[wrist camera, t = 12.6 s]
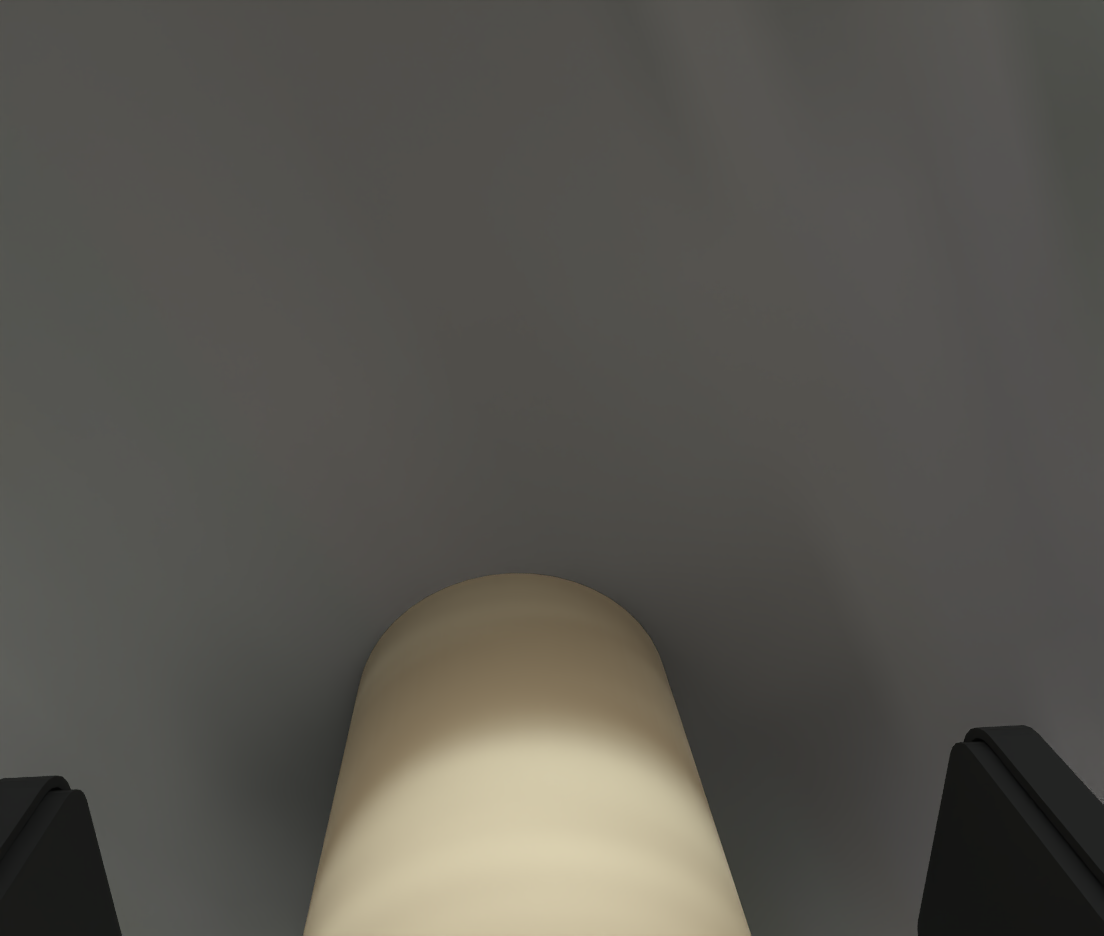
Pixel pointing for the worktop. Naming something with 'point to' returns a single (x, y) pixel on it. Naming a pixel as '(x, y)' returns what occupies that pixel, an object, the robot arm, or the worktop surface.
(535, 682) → the maple bead
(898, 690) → the worktop surface
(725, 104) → the worktop surface
